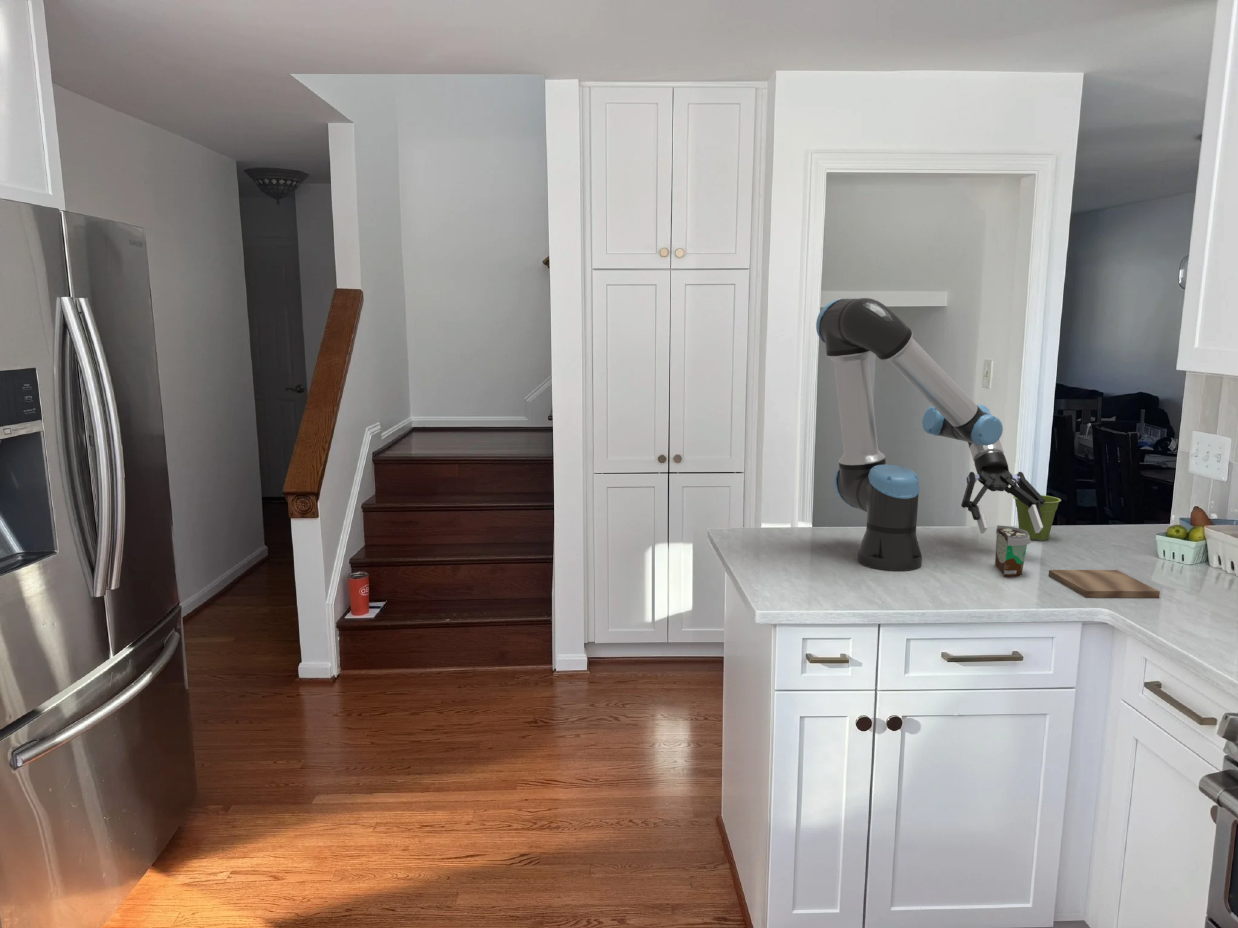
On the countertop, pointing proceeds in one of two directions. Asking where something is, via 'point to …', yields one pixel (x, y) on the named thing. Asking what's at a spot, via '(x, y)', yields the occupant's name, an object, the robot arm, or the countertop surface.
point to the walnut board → (1103, 584)
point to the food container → (1010, 550)
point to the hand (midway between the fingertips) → (1011, 530)
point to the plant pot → (1046, 519)
